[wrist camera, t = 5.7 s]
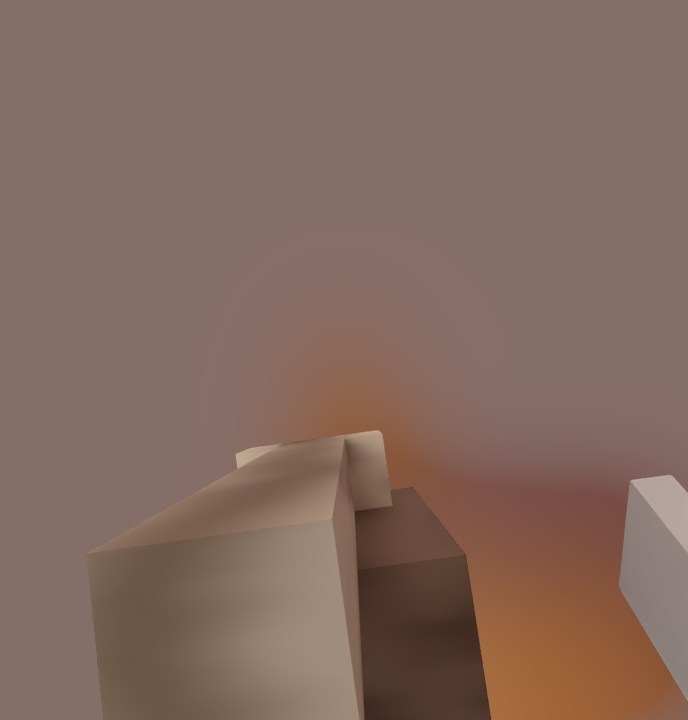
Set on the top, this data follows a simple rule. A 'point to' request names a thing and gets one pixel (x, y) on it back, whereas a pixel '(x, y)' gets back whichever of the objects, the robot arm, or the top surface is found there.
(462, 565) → the walnut stand
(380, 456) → the birch bar
